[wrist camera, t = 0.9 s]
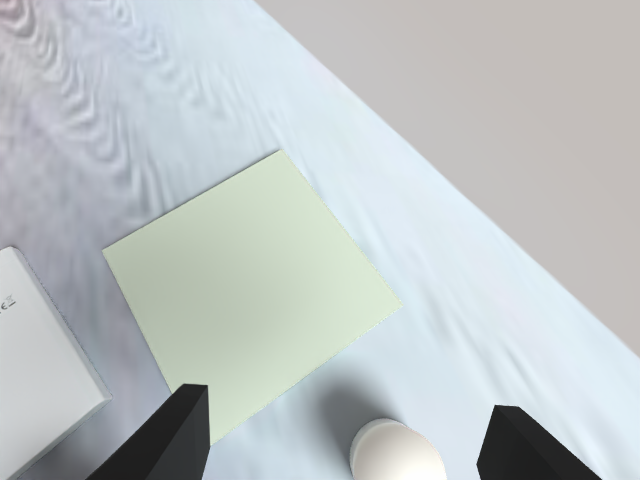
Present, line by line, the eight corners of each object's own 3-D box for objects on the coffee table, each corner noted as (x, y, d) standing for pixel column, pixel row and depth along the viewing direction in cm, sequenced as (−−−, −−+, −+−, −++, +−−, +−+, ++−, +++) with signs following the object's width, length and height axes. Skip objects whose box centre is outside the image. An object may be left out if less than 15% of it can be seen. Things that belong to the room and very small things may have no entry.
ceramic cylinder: (379, 520, 18) (394, 556, 15) (335, 448, 20) (338, 464, 16) (438, 469, 19) (466, 491, 16) (391, 403, 20) (407, 408, 17)
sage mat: (204, 450, 20) (201, 452, 19) (106, 253, 24) (101, 250, 23) (401, 306, 22) (403, 304, 22) (283, 153, 27) (282, 148, 26)
